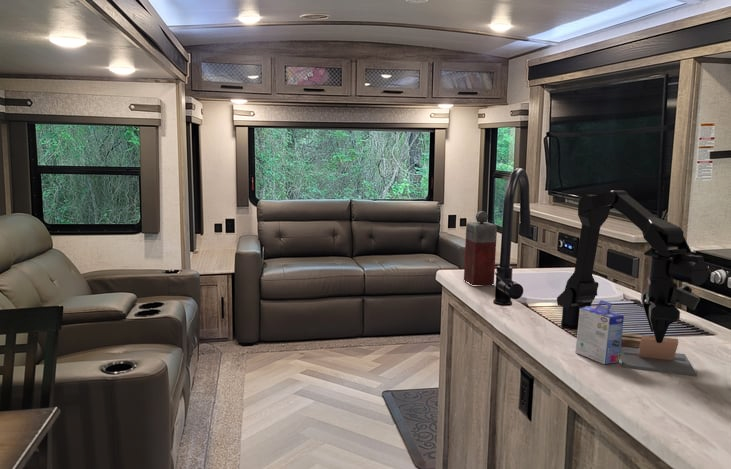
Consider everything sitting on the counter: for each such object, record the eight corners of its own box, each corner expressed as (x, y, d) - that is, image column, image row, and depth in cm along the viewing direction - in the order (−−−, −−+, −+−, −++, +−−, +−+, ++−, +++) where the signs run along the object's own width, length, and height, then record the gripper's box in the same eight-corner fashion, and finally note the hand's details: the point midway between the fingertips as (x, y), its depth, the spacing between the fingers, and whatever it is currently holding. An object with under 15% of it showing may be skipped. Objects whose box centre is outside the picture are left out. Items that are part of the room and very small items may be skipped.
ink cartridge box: (621, 362, 148) (626, 306, 146) (605, 365, 146) (610, 308, 144) (589, 350, 157) (594, 296, 155) (574, 353, 154) (578, 298, 152)
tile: (638, 356, 151) (642, 338, 146) (638, 352, 152) (642, 335, 147) (673, 360, 148) (678, 342, 144) (672, 356, 149) (677, 338, 145)
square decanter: (482, 279, 237) (485, 209, 233) (494, 285, 227) (498, 212, 222) (461, 279, 236) (464, 209, 231) (472, 286, 225) (475, 212, 220)
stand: (604, 343, 162) (605, 337, 162) (603, 337, 167) (603, 331, 167) (653, 349, 159) (653, 342, 158) (649, 342, 164) (650, 336, 164)
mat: (623, 367, 145) (623, 362, 145) (617, 348, 158) (618, 344, 158) (696, 376, 140) (697, 371, 140) (684, 356, 153) (685, 351, 153)
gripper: (707, 287, 136) (700, 353, 138) (690, 271, 154) (684, 330, 156) (654, 283, 139) (647, 347, 142) (643, 268, 157) (638, 325, 159)
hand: (656, 337), depth 150 cm, fingers open, 9 cm apart
